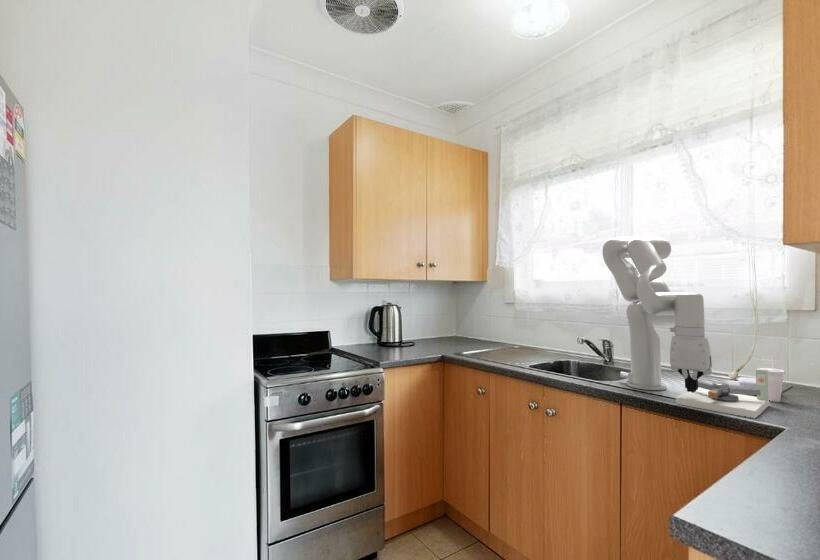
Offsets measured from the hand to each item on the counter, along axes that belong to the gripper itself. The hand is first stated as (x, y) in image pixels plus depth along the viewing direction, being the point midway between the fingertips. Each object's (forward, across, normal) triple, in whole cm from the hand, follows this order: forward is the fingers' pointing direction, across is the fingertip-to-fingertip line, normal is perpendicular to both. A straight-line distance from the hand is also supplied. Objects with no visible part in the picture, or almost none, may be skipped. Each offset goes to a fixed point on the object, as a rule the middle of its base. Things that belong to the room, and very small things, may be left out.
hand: (691, 391), depth 122 cm
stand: (+4, +6, +7) cm, 10 cm away
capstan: (+2, +6, +4) cm, 7 cm away
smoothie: (+4, +15, +25) cm, 29 cm away
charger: (+4, +7, +31) cm, 33 cm away
